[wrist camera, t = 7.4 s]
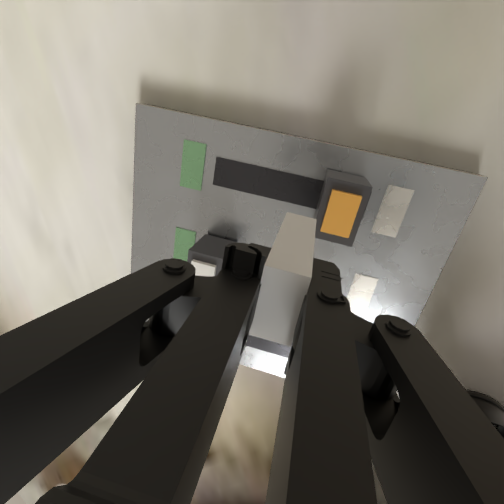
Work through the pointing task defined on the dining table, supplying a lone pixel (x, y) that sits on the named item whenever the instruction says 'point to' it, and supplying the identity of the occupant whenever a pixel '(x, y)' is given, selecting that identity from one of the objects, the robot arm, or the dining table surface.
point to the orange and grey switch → (341, 207)
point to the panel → (294, 208)
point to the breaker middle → (208, 255)
